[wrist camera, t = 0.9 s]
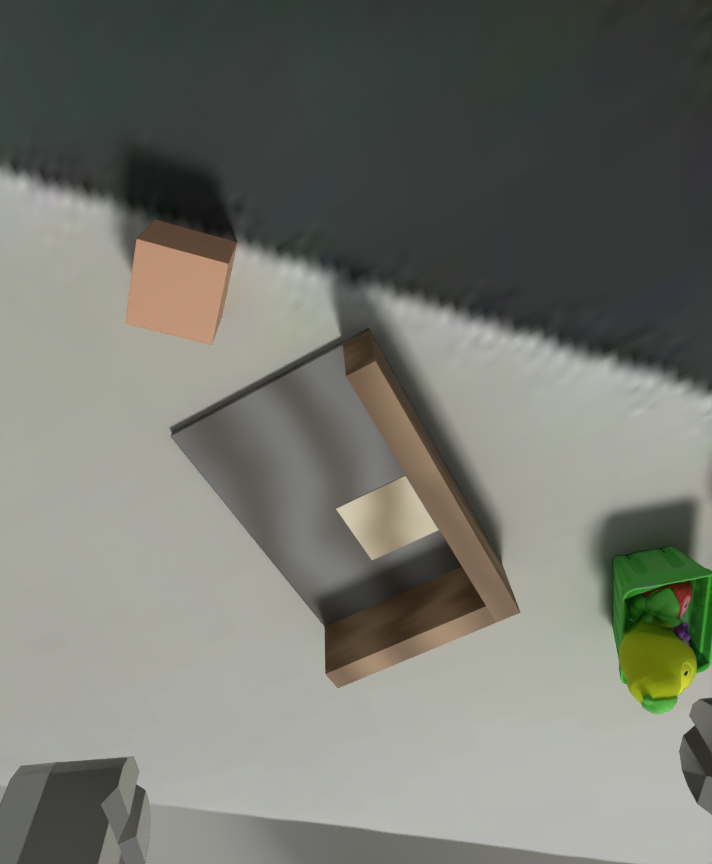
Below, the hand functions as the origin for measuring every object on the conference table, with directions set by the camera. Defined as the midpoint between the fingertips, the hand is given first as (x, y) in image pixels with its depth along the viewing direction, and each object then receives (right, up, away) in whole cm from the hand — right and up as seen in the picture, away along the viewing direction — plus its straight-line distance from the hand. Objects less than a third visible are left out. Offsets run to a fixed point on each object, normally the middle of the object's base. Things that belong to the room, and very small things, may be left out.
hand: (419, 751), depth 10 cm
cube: (-11, +15, +32) cm, 37 cm away
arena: (-1, -1, +41) cm, 41 cm away
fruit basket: (+23, -9, +48) cm, 54 cm away
